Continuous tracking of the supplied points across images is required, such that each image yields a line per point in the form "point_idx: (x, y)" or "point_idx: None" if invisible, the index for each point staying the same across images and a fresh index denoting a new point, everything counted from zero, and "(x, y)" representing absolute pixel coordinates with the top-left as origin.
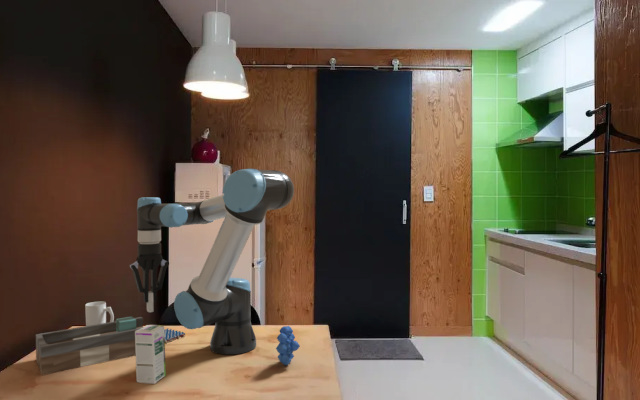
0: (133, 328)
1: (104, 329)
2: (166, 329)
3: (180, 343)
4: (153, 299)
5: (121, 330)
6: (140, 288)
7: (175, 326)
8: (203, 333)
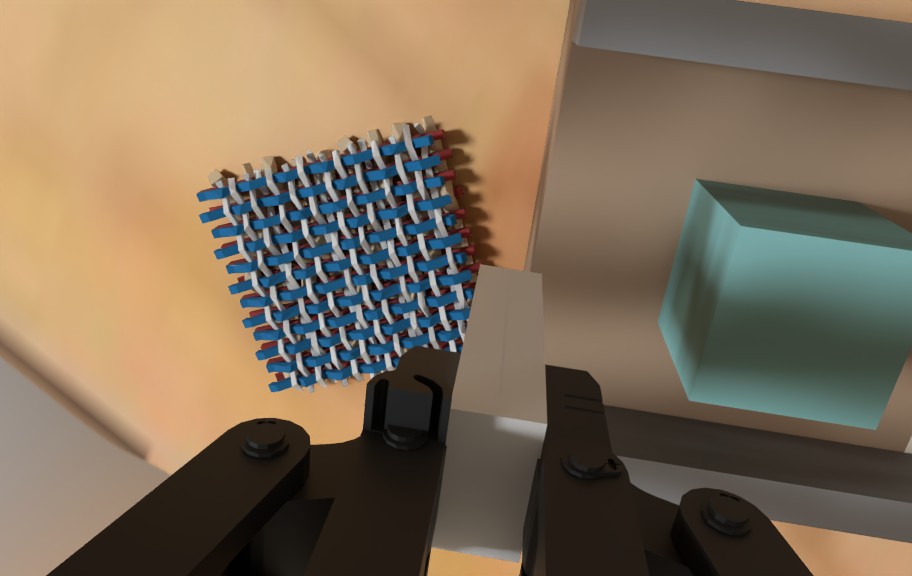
0: (743, 202)
1: (875, 467)
2: (288, 384)
3: (312, 24)
4: (447, 366)
5: (881, 220)
6: (772, 559)
7: (186, 458)
8: (54, 137)
